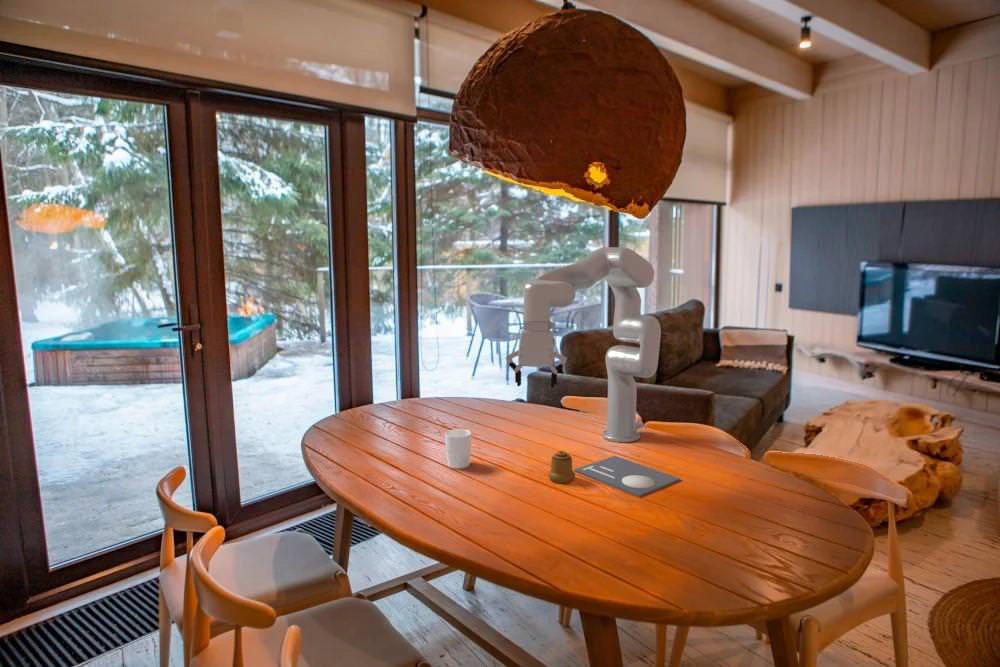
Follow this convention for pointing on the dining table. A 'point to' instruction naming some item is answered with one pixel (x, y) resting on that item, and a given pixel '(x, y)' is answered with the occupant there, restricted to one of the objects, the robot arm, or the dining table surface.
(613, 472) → the slate board
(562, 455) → the ornamental finial
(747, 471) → the dining table surface
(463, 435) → the white cup
